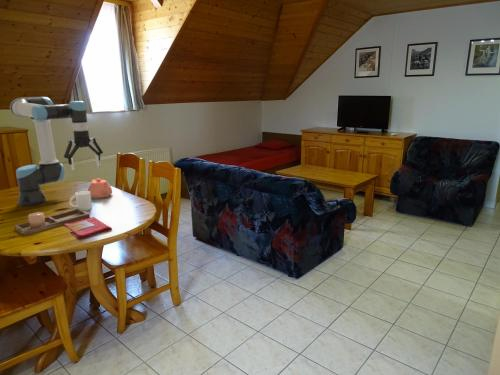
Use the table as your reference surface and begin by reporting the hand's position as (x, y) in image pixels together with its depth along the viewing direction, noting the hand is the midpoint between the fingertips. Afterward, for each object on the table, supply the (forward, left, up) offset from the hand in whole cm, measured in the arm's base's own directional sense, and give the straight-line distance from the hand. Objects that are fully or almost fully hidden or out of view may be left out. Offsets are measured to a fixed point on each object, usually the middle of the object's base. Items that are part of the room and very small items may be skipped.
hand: (85, 168), depth 203 cm
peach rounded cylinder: (+1, -29, -26) cm, 39 cm away
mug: (-11, 0, -27) cm, 29 cm away
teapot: (-26, +21, -27) cm, 43 cm away
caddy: (+1, -21, -27) cm, 34 cm away
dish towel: (+20, -13, -28) cm, 37 cm away
